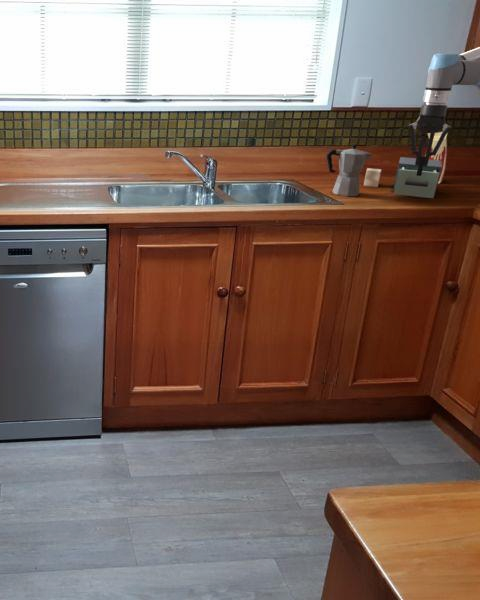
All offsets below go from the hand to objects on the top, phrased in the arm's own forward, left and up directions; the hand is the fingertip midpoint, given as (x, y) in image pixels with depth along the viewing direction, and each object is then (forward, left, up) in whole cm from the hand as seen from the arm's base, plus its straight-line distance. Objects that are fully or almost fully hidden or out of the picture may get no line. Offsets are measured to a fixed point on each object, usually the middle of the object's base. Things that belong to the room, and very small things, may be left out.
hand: (418, 175), depth 210 cm
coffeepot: (+23, +1, -9) cm, 25 cm away
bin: (0, -7, -8) cm, 11 cm away
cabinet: (0, -19, -9) cm, 21 cm away
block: (+15, -21, -9) cm, 27 cm away
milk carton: (-5, -44, -9) cm, 45 cm away
